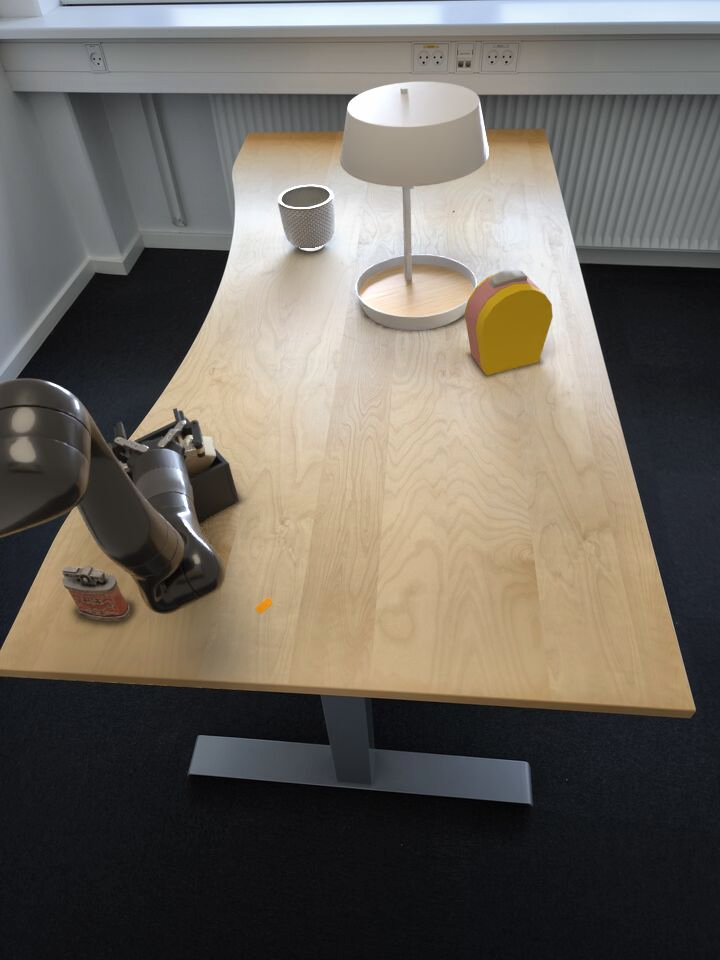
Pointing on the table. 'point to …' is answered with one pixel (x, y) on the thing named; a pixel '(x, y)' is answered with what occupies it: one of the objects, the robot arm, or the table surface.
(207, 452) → the box
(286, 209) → the planter
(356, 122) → the lamp
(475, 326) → the alarm clock
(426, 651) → the table surface
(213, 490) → the bin
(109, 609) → the lighter
